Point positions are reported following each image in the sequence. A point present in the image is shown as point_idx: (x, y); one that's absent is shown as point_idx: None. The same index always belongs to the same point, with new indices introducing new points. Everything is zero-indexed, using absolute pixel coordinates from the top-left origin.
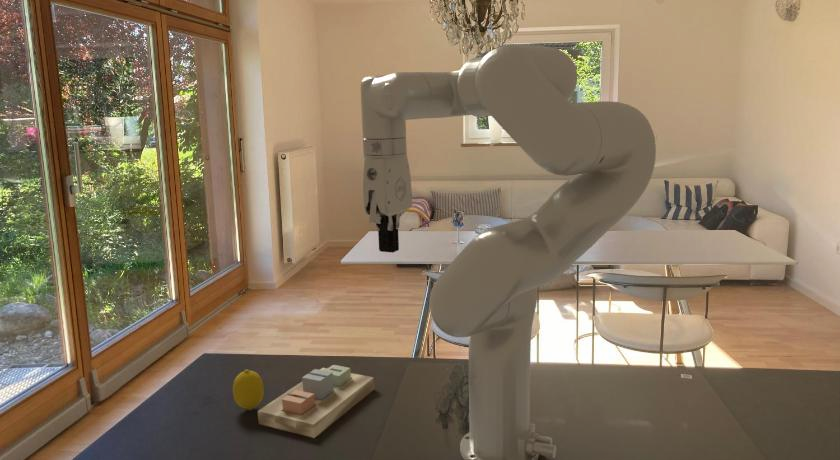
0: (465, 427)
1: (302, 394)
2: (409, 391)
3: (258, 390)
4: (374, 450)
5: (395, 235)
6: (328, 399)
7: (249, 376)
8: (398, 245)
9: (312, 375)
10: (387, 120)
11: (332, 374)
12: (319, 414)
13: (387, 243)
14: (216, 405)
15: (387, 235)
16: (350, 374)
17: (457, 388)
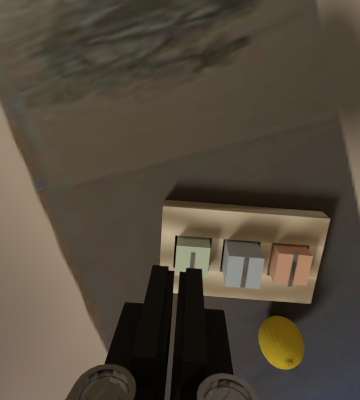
0: (236, 6)
1: (285, 267)
2: (151, 145)
3: (287, 327)
4: (335, 119)
5: (167, 330)
6: (254, 235)
7: (295, 352)
8: (153, 277)
9: (249, 278)
10: None
11: (229, 254)
12: (300, 225)
13: (225, 329)
14: None
15: (230, 369)
16: (177, 240)
17: (111, 70)
